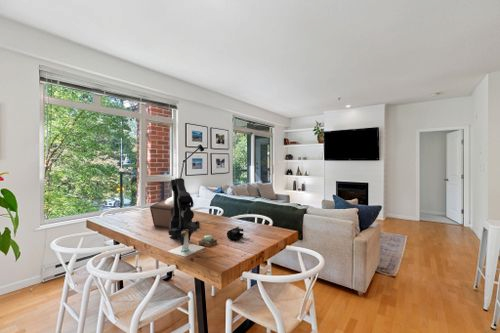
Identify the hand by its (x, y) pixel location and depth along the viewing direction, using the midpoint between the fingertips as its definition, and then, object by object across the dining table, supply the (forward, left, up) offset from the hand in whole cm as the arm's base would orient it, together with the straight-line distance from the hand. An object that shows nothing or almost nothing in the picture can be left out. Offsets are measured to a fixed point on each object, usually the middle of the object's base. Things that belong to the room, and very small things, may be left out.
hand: (185, 244), depth 135 cm
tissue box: (-52, +38, -4) cm, 65 cm away
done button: (+3, +16, -2) cm, 16 cm away
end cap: (+12, +33, -4) cm, 35 cm away
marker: (0, 0, -2) cm, 3 cm away
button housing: (+3, +16, -4) cm, 17 cm away
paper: (-1, +2, -4) cm, 5 cm away
